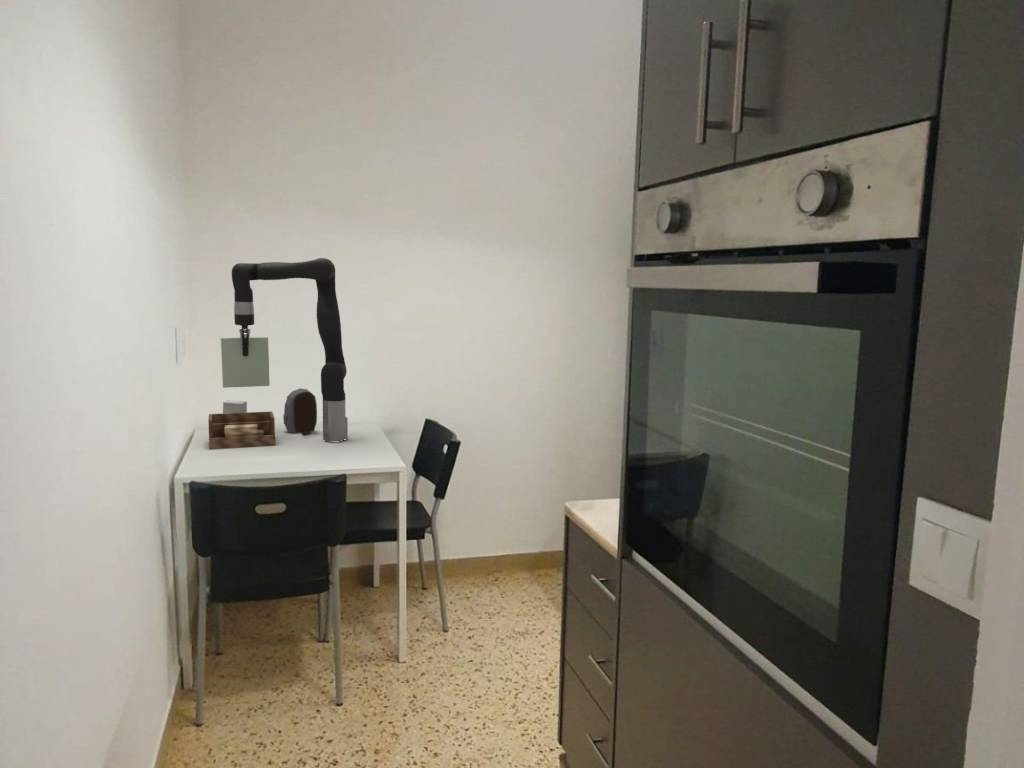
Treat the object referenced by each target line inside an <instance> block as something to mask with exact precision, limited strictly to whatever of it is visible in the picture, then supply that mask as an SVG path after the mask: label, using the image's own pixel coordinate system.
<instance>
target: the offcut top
mask: <svg viewBox="0 0 1024 768" xmlns="http://www.w3.org/2000/svg"><path fill="white" fill-rule="evenodd" d="M224 430H225V434H246V433H257V432H258V429H257V424H248V425H225V428H224Z"/></svg>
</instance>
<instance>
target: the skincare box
mask: <svg viewBox="0 0 1024 768" xmlns="http://www.w3.org/2000/svg"><path fill="white" fill-rule="evenodd" d="M247 409H248V402H247V401H244V400H243V401H242V400H226V401H223V402H222V413H246V412H248V410H247Z"/></svg>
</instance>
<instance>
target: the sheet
mask: <svg viewBox="0 0 1024 768" xmlns="http://www.w3.org/2000/svg"><path fill="white" fill-rule="evenodd" d="M243 343H247V341H244V342H243ZM220 349H221V373H222V374H221V375H222V388H247V387H251V388H252V387H270V357H269V356H270V354H269V352H270V351H269V337H268V336H267V337H265V336H264V337H263V336H262V337H257V336H256V337H250V340H249V347H248V356H243V349H242V341H241V338H240V337H221V338H220Z"/></svg>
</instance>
